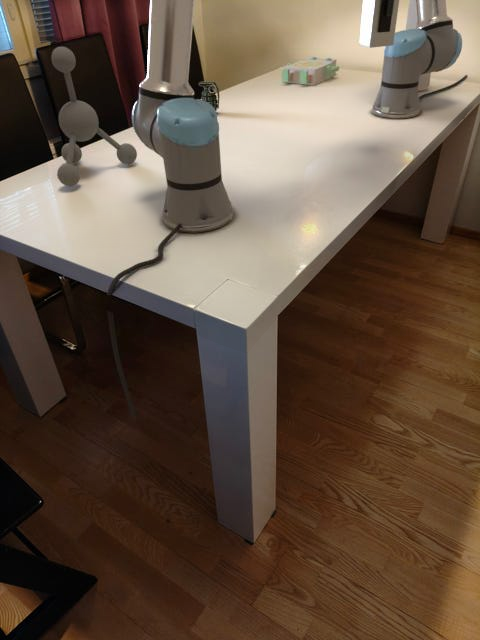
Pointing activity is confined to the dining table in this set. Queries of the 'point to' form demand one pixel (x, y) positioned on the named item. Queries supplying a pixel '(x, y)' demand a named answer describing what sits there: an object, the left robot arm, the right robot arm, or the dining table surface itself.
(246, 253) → the dining table surface
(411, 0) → the electronic device
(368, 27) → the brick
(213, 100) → the grenade
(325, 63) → the decorative block
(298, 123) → the dining table surface
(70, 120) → the molecular model
